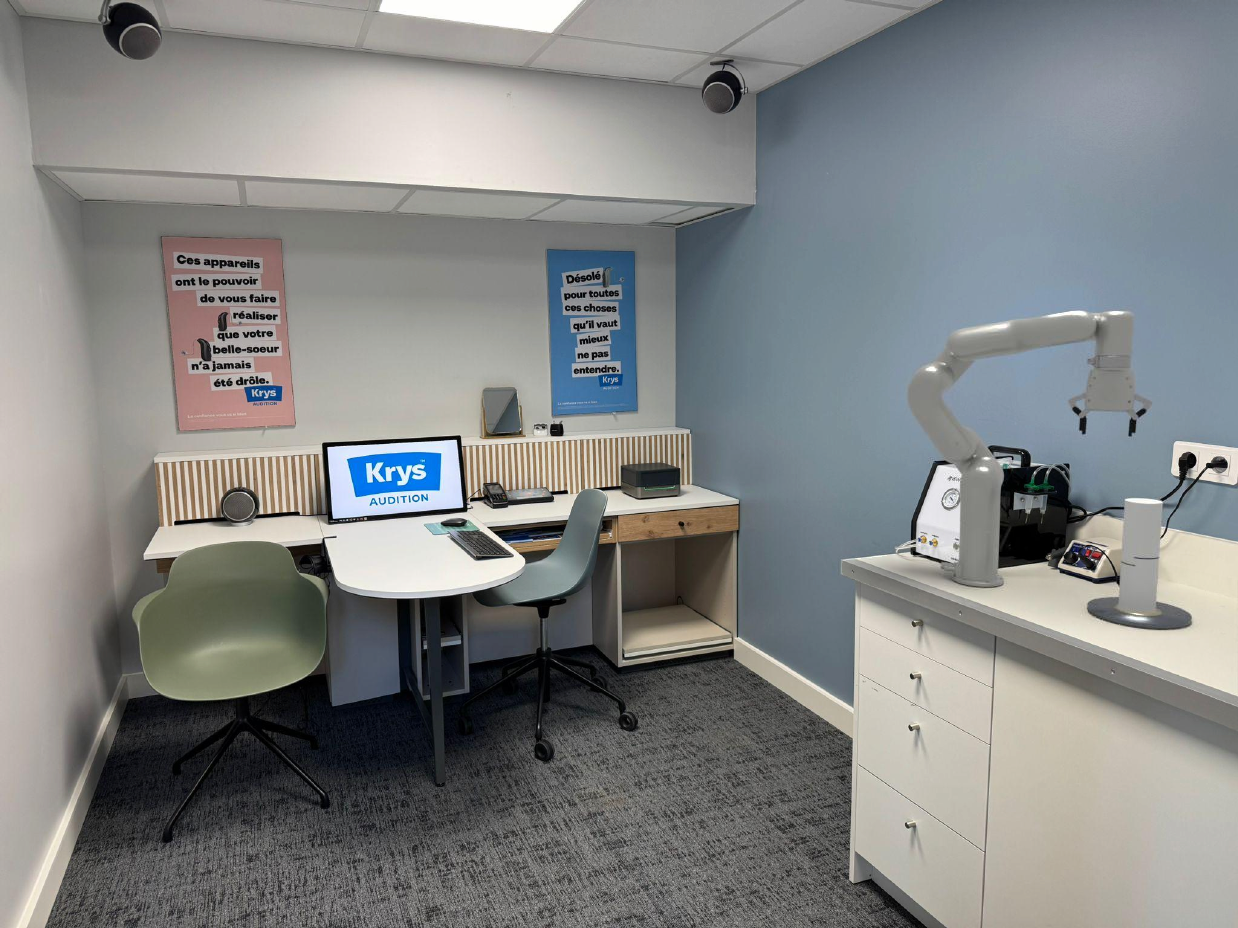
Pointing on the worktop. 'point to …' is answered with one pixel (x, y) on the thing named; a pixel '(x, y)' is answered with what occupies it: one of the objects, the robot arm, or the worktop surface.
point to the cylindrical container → (1140, 555)
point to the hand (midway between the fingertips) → (1106, 435)
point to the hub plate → (1140, 615)
